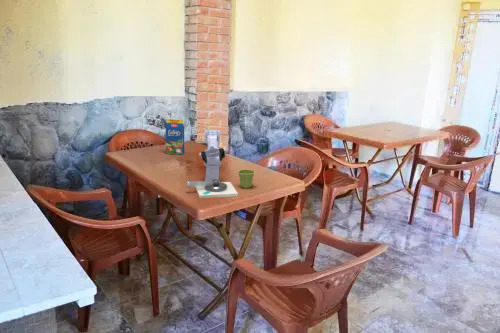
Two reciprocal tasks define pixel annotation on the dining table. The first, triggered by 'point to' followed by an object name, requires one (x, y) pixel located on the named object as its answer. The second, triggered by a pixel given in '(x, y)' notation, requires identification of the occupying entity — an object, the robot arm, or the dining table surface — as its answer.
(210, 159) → the robot arm
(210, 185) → the crank handle
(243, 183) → the plant pot
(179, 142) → the blue food package
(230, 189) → the base board
